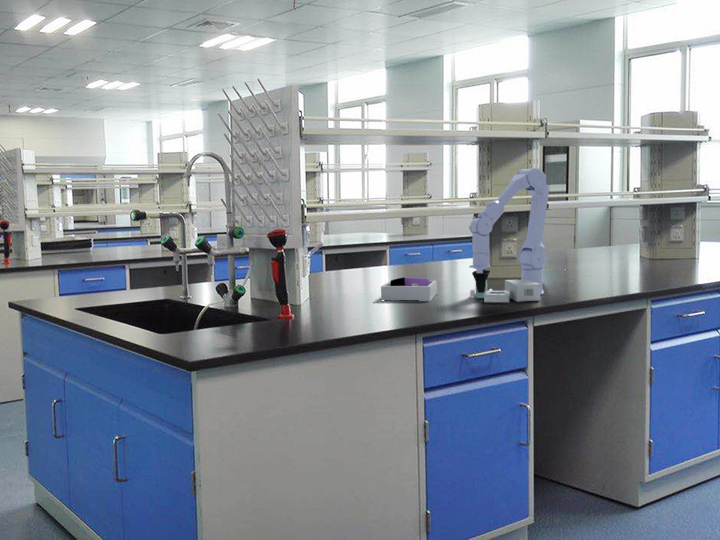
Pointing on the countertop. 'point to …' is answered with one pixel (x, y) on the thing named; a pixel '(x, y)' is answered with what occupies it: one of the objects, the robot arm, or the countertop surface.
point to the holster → (472, 293)
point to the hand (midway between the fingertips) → (481, 291)
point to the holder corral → (409, 292)
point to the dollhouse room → (410, 282)
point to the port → (497, 297)
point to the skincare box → (523, 290)
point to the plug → (481, 295)
